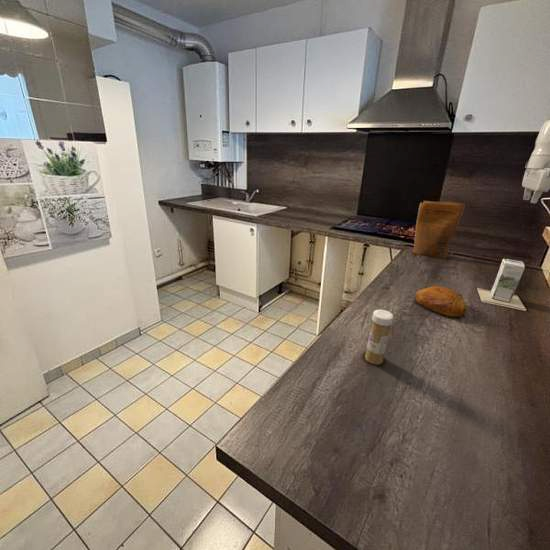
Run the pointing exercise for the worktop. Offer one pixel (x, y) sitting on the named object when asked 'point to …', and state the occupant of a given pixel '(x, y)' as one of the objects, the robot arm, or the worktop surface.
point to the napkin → (514, 303)
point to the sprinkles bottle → (378, 336)
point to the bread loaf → (442, 300)
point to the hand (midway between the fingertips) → (529, 201)
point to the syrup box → (507, 280)
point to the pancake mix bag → (436, 227)
